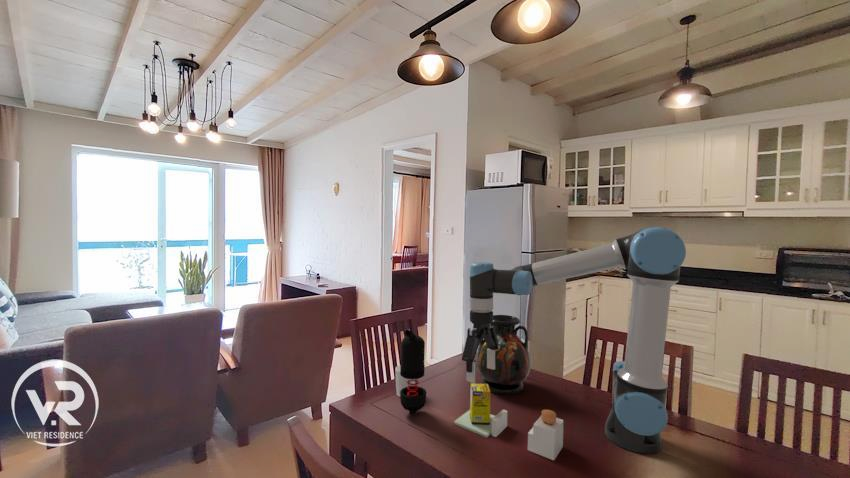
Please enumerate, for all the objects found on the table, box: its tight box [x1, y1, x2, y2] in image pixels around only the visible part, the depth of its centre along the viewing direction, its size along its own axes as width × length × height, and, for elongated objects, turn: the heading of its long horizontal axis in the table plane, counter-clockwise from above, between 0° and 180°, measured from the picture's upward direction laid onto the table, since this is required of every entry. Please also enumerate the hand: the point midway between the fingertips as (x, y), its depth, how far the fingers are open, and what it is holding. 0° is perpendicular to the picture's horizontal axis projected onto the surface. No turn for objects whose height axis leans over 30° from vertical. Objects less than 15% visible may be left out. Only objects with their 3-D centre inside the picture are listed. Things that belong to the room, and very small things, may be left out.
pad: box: [453, 409, 496, 439], centre depth 116 cm, size 12×12×1 cm
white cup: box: [394, 364, 415, 398], centre depth 136 cm, size 8×8×10 cm
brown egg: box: [540, 409, 557, 425], centre depth 103 cm, size 4×4×6 cm
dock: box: [490, 409, 564, 461], centre depth 107 cm, size 19×8×8 cm, turn 52°
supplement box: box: [469, 382, 491, 425], centre depth 116 cm, size 6×6×11 cm
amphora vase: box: [475, 314, 532, 395], centre depth 144 cm, size 22×22×28 cm
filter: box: [399, 329, 427, 416], centre depth 123 cm, size 14×9×30 cm
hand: (481, 374), depth 116 cm, fingers open, 13 cm apart
